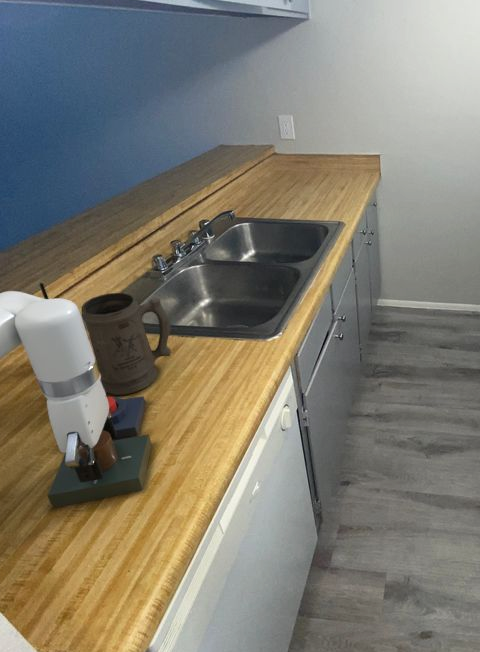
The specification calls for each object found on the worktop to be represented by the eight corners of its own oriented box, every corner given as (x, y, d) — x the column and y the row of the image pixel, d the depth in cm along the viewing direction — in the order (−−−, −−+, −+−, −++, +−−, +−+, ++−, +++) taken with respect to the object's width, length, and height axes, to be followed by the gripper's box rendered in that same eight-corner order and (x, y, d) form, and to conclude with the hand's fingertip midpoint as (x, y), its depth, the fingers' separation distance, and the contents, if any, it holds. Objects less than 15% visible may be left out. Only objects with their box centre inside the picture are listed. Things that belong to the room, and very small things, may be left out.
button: (93, 418, 89) (90, 411, 88) (98, 405, 92) (95, 398, 91) (114, 415, 90) (112, 408, 89) (118, 402, 93) (116, 395, 92)
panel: (53, 508, 76) (46, 494, 74) (72, 460, 84) (66, 447, 83) (142, 490, 79) (138, 477, 78) (152, 446, 88) (148, 433, 86)
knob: (113, 470, 79) (105, 447, 77) (81, 476, 78) (71, 453, 75) (120, 449, 83) (113, 426, 81) (89, 454, 82) (81, 431, 79)
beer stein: (109, 404, 97) (90, 320, 89) (91, 380, 103) (72, 299, 95) (183, 375, 108) (173, 297, 99) (163, 355, 114) (151, 280, 105)
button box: (71, 446, 87) (65, 430, 85) (85, 413, 95) (79, 398, 93) (137, 435, 90) (133, 419, 88) (146, 404, 98) (141, 389, 96)
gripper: (61, 347, 78) (89, 425, 86) (17, 420, 63) (56, 506, 72) (111, 341, 80) (135, 418, 88) (80, 411, 65) (111, 495, 74)
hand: (99, 457), depth 80 cm, fingers open, 8 cm apart
